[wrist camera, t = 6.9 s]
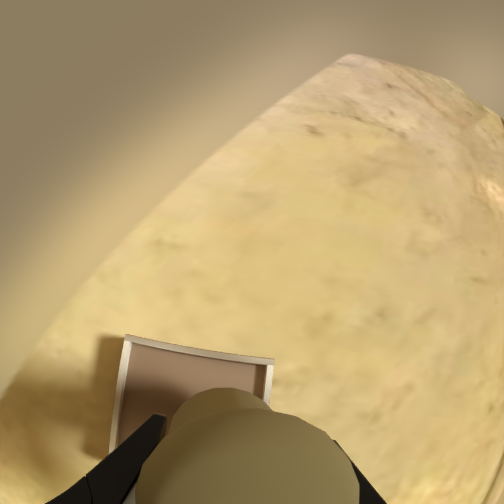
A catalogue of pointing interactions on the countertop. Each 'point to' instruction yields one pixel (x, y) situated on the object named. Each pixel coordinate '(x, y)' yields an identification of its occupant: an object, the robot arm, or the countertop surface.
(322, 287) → the countertop surface
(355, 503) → the olive pawn figure
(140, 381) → the brown square tray
